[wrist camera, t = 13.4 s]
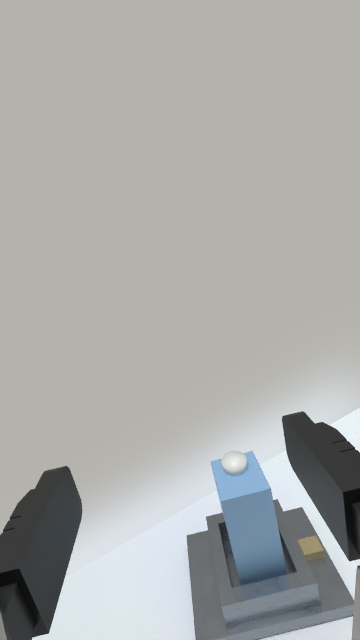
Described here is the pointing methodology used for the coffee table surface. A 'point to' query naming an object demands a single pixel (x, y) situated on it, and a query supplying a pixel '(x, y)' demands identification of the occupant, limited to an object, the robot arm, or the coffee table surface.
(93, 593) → the coffee table surface
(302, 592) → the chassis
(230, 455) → the blue tall box
